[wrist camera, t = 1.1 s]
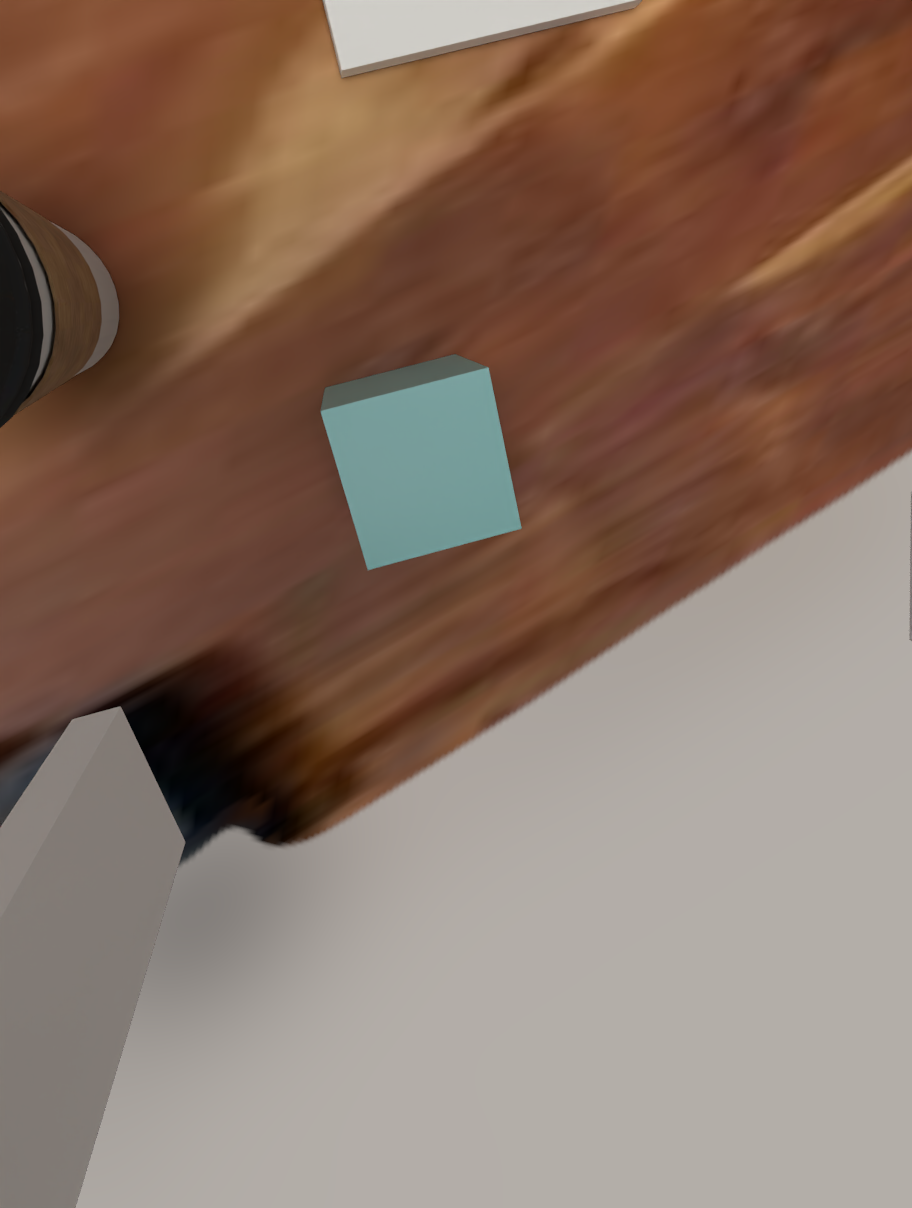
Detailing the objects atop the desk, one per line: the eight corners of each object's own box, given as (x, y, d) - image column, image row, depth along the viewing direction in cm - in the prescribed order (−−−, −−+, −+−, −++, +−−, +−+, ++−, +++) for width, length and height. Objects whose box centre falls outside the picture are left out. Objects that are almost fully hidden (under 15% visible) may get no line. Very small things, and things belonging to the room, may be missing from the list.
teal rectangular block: (362, 514, 36) (367, 570, 28) (325, 387, 33) (320, 411, 26) (483, 482, 36) (521, 528, 28) (455, 354, 33) (488, 367, 26)
